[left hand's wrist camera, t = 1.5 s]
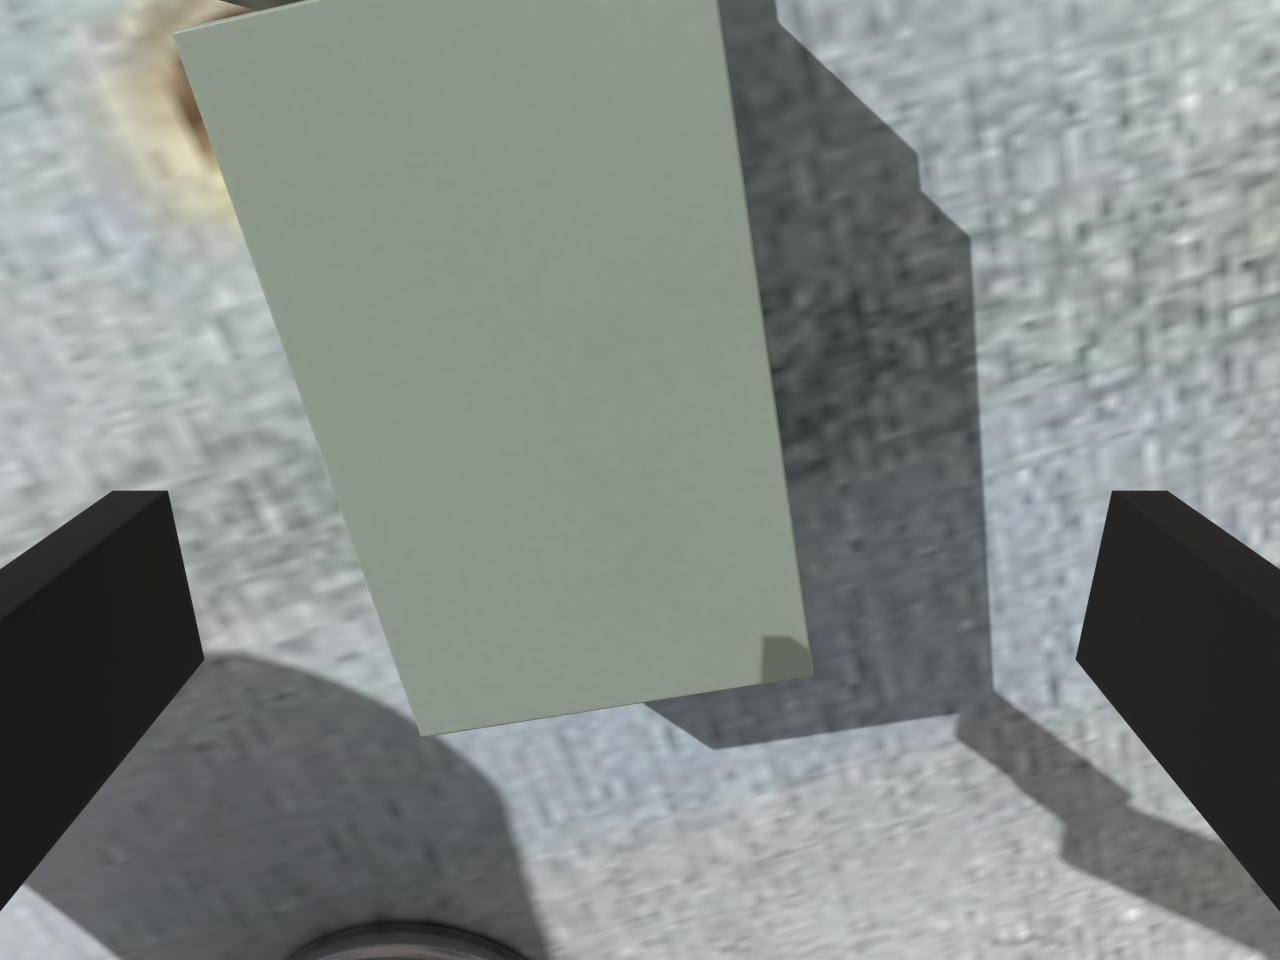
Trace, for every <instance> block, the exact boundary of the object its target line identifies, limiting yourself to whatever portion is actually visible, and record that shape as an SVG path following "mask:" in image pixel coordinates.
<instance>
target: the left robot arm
mask: <svg viewBox="0 0 1280 960" xmlns="http://www.w3.org/2000/svg"><path fill="white" fill-rule="evenodd" d="M203 661H204V656H203V651H202V646H201V642H200V637H199V633H198V628H197V623H196V619H195V614H194V609H193V605H192V600H191V596H190V591H189V586H188V582H187V577H186V572H185V568H184V563H183V559H182V554H181V549H180V545H179V540H178V535H177V531H176V526H175V522H174V517H173V512H172V508H171V503H170V498H169V494H168V491H112V492H110V493H109V494H107V495H106V496H104V497H103V498H102V499H100V500H99V501H97V502H96V503H94V504H93V505H92V506H90V507H89V508H87V509H86V510H84V511H83V512H82V513H80V514H79V515H77V516H76V517H74V518H73V519H72V520H70V521H69V522H67V523H66V524H64V525H63V526H62V527H60V528H59V529H57V530H56V531H54V532H53V533H52V534H50V535H49V536H47V537H46V538H44V539H43V540H41V541H40V542H39V543H37V544H36V545H34V546H33V547H31V548H30V549H29V550H27V551H26V552H24V553H23V554H21V555H20V556H19V557H17V558H16V559H14V560H13V561H11V562H10V563H9V564H7V565H6V566H4V567H3V568H1V569H0V911H1V910H2V909H3V907H4V906H5V905H6V904H7V902H8V901H9V900H10V899H11V897H12V896H13V895H14V894H15V893H16V891H17V890H18V889H19V888H20V886H21V885H22V884H23V883H24V881H25V880H26V879H27V878H28V877H29V875H30V874H31V873H32V872H33V870H34V869H35V868H36V867H37V865H38V864H39V863H40V862H41V860H42V859H43V858H44V857H45V856H46V854H47V853H48V852H49V851H50V849H51V848H52V847H53V846H54V844H55V843H56V842H57V841H58V840H59V838H60V837H61V836H62V835H63V833H64V832H65V831H66V830H67V828H68V827H69V826H70V825H71V823H72V822H73V821H74V820H75V819H76V817H77V816H78V815H79V814H80V812H81V811H82V810H83V809H84V807H85V806H86V805H87V804H88V803H89V801H90V800H91V799H92V798H93V796H94V795H95V794H96V793H97V791H98V790H99V789H100V788H101V786H102V785H103V784H104V783H105V782H106V780H107V779H108V778H109V777H110V775H111V774H112V773H113V772H114V770H115V769H116V768H117V767H118V766H119V764H120V763H121V762H122V761H123V759H124V758H125V757H126V756H127V754H128V753H129V752H130V751H131V749H132V748H133V747H134V746H135V745H136V743H137V742H138V741H139V740H140V738H141V737H142V736H143V735H144V733H145V732H146V731H147V730H148V728H149V727H150V726H151V725H152V724H153V722H154V721H155V720H156V719H157V717H158V716H159V715H160V714H161V712H162V711H163V710H164V709H165V708H166V706H167V705H168V704H169V703H170V701H171V700H172V699H173V698H174V696H175V695H176V694H177V693H178V691H179V690H180V689H181V688H182V687H183V685H184V684H185V683H186V682H187V680H188V679H189V678H190V677H191V675H192V674H193V673H194V672H195V671H196V669H197V668H198V667H199V666H200V664H201V663H202V662H203ZM1076 661H1077V662H1078V663H1079V664H1080V666H1081V667H1082V668H1083V669H1084V671H1085V672H1086V673H1087V674H1088V675H1089V677H1090V678H1091V679H1092V680H1093V682H1094V683H1095V684H1096V685H1097V687H1098V688H1099V689H1100V690H1101V692H1102V693H1103V694H1104V695H1105V696H1106V698H1107V699H1108V700H1109V701H1110V703H1111V704H1112V705H1113V706H1114V708H1115V709H1116V710H1117V711H1118V712H1119V714H1120V715H1121V716H1122V717H1123V719H1124V720H1125V721H1126V722H1127V724H1128V725H1129V726H1130V727H1131V729H1132V730H1133V731H1134V732H1135V733H1136V735H1137V736H1138V737H1139V738H1140V740H1141V741H1142V742H1143V743H1144V745H1145V746H1146V747H1147V748H1148V749H1149V751H1150V752H1151V753H1152V754H1153V756H1154V757H1155V758H1156V759H1157V761H1158V762H1159V763H1160V764H1161V766H1162V767H1163V768H1164V769H1165V770H1166V772H1167V773H1168V774H1169V775H1170V777H1171V778H1172V779H1173V780H1174V782H1175V783H1176V784H1177V785H1178V786H1179V788H1180V789H1181V790H1182V791H1183V793H1184V794H1185V795H1186V796H1187V798H1188V799H1189V800H1190V801H1191V803H1192V804H1193V805H1194V806H1195V807H1196V809H1197V810H1198V811H1199V812H1200V814H1201V815H1202V816H1203V817H1204V819H1205V820H1206V821H1207V822H1208V823H1209V825H1210V826H1211V827H1212V828H1213V830H1214V831H1215V832H1216V833H1217V835H1218V836H1219V837H1220V838H1221V840H1222V841H1223V842H1224V843H1225V844H1226V846H1227V847H1228V848H1229V849H1230V851H1231V852H1232V853H1233V854H1234V856H1235V857H1236V858H1237V859H1238V860H1239V862H1240V863H1241V864H1242V865H1243V867H1244V868H1245V869H1246V870H1247V872H1248V873H1249V874H1250V875H1251V877H1252V878H1253V879H1254V880H1255V881H1256V883H1257V884H1258V885H1259V886H1260V888H1261V889H1262V890H1263V891H1264V893H1265V894H1266V895H1267V896H1268V897H1269V899H1270V900H1271V901H1272V902H1273V904H1274V905H1275V906H1276V907H1277V909H1278V910H1279V911H1280V569H1279V568H1277V567H1276V566H1274V565H1273V564H1271V563H1270V562H1269V561H1267V560H1266V559H1264V558H1263V557H1261V556H1260V555H1259V554H1257V553H1256V552H1254V551H1253V550H1251V549H1250V548H1249V547H1247V546H1246V545H1244V544H1243V543H1241V542H1240V541H1238V540H1237V539H1236V538H1234V537H1233V536H1231V535H1230V534H1228V533H1227V532H1226V531H1224V530H1223V529H1221V528H1220V527H1218V526H1217V525H1216V524H1214V523H1213V522H1211V521H1210V520H1208V519H1207V518H1206V517H1204V516H1203V515H1201V514H1200V513H1198V512H1197V511H1196V510H1194V509H1193V508H1191V507H1190V506H1188V505H1187V504H1186V503H1184V502H1183V501H1181V500H1180V499H1178V498H1177V497H1176V496H1174V495H1173V494H1171V493H1170V492H1168V491H1112V494H1111V498H1110V503H1109V508H1108V512H1107V517H1106V522H1105V526H1104V531H1103V535H1102V540H1101V545H1100V549H1099V554H1098V559H1097V563H1096V568H1095V572H1094V577H1093V582H1092V586H1091V591H1090V596H1089V600H1088V605H1087V609H1086V614H1085V619H1084V623H1083V628H1082V633H1081V637H1080V642H1079V646H1078V651H1077V656H1076ZM288 960H524V959H523V958H521V957H520V956H518V955H516V954H515V953H513V952H511V951H510V950H508V949H506V948H504V947H502V946H500V945H498V944H496V943H494V942H491V941H489V940H486V939H484V938H481V937H479V936H475V935H472V934H469V933H466V932H463V931H458V930H454V929H450V928H445V927H439V926H433V925H424V924H411V923H391V924H377V925H369V926H362V927H358V928H353V929H348V930H345V931H342V932H338V933H335V934H332V935H329V936H327V937H324V938H322V939H320V940H318V941H316V942H314V943H312V944H310V945H308V946H306V947H305V948H303V949H301V950H300V951H298V952H297V953H295V954H294V955H293V956H292V957H290V958H289V959H288Z"/></svg>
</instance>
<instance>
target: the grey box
mask: <svg viewBox="0 0 1280 960" xmlns="http://www.w3.org/2000/svg"><path fill="white" fill-rule="evenodd" d="M173 37H174V40H175V43H176V46H177V48H178V51H179V54H180V57H181V60H182V63H183V65H184V68H185V71H186V74H187V77H188V80H189V82H190V85H191V88H192V91H193V94H194V97H195V99H196V102H197V105H198V108H199V111H200V113H201V116H202V119H203V122H204V125H205V128H206V130H207V133H208V136H209V139H210V142H211V145H212V147H213V150H214V153H215V156H216V159H217V162H218V164H219V167H220V170H221V173H222V176H223V179H224V181H225V184H226V187H227V190H228V193H229V196H230V198H231V201H232V204H233V207H234V210H235V212H236V215H237V218H238V221H239V224H240V227H241V229H242V232H243V235H244V238H245V241H246V244H247V246H248V249H249V252H250V255H251V258H252V261H253V263H254V266H255V269H256V272H257V275H258V278H259V280H260V283H261V286H262V289H263V292H264V294H265V297H266V300H267V303H268V306H269V309H270V311H271V314H272V317H273V320H274V323H275V326H276V328H277V331H278V334H279V337H280V340H281V343H282V345H283V348H284V351H285V354H286V357H287V360H288V362H289V365H290V368H291V371H292V374H293V376H294V379H295V382H296V385H297V388H298V391H299V393H300V396H301V399H302V402H303V405H304V408H305V410H306V413H307V416H308V419H309V422H310V425H311V427H312V430H313V433H314V436H315V439H316V442H317V444H318V447H319V450H320V453H321V456H322V459H323V461H324V464H325V467H326V470H327V473H328V475H329V478H330V481H331V484H332V487H333V490H334V492H335V495H336V498H337V501H338V504H339V507H340V509H341V512H342V515H343V518H344V521H345V524H346V526H347V529H348V532H349V535H350V538H351V541H352V543H353V546H354V549H355V552H356V555H357V557H358V560H359V563H360V566H361V569H362V572H363V574H364V577H365V580H366V583H367V586H368V589H369V591H370V594H371V597H372V600H373V603H374V606H375V608H376V611H377V614H378V617H379V620H380V623H381V625H382V628H383V631H384V634H385V637H386V639H387V642H388V645H389V648H390V651H391V654H392V656H393V659H394V662H395V665H396V668H397V671H398V673H399V676H400V679H401V682H402V685H403V688H404V690H405V693H406V696H407V699H408V702H409V705H410V707H411V710H412V713H413V716H414V719H415V722H416V724H417V727H418V730H419V733H420V736H421V737H427V736H433V735H440V734H446V733H453V732H459V731H465V730H472V729H478V728H484V727H491V726H497V725H504V724H510V723H516V722H523V721H529V720H536V719H542V718H548V717H555V716H561V715H567V714H574V713H580V712H587V711H593V710H599V709H606V708H612V707H618V706H625V705H631V704H638V703H644V702H650V701H657V700H663V699H669V698H676V697H682V696H689V695H695V694H701V693H708V692H714V691H720V690H727V689H733V688H740V687H746V686H752V685H759V684H765V683H771V682H778V681H784V680H791V679H797V678H803V677H810V676H813V674H814V669H813V662H812V655H811V648H810V641H809V634H808V627H807V620H806V613H805V606H804V599H803V592H802V585H801V578H800V571H799V564H798V557H797V550H796V543H795V535H794V528H793V521H792V514H791V507H790V500H789V493H788V486H787V479H786V472H785V465H784V458H783V451H782V444H781V437H780V430H779V423H778V416H777V409H776V402H775V395H774V388H773V381H772V374H771V366H770V359H769V352H768V345H767V338H766V331H765V324H764V317H763V310H762V303H761V296H760V289H759V282H758V275H757V268H756V261H755V254H754V247H753V240H752V233H751V226H750V219H749V212H748V205H747V197H746V190H745V183H744V176H743V169H742V162H741V155H740V148H739V141H738V134H737V127H736V120H735V113H734V106H733V99H732V92H731V85H730V78H729V71H728V64H727V57H726V50H725V43H724V36H723V28H722V21H721V14H720V7H719V0H304V1H300V2H296V3H291V4H287V5H282V6H278V7H274V8H269V9H265V10H260V11H256V12H252V13H247V14H243V15H238V16H234V17H230V18H225V19H221V20H216V21H212V22H208V23H203V24H199V25H194V26H190V27H186V28H181V29H177V30H175V31H173Z"/></svg>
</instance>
